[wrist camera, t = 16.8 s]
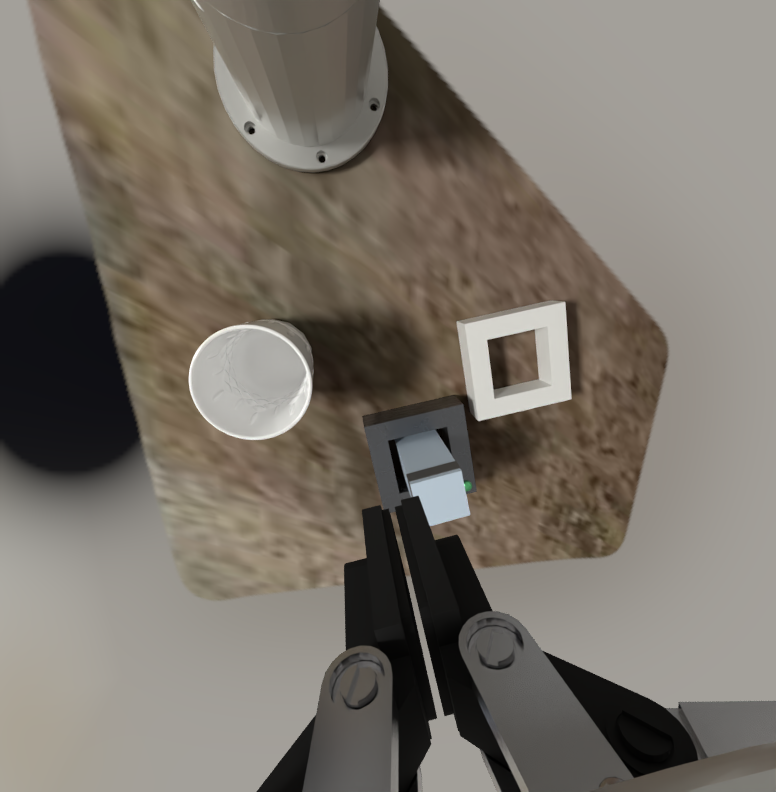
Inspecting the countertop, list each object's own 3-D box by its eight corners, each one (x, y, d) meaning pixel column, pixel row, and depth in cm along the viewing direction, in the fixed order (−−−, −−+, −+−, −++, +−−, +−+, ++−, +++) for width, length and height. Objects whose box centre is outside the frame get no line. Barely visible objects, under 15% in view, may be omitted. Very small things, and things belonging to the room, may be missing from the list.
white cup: (248, 296, 34) (213, 303, 24) (333, 336, 36) (331, 356, 26) (216, 377, 36) (171, 413, 26) (299, 411, 37) (285, 456, 28)
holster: (456, 321, 37) (464, 324, 34) (550, 300, 37) (565, 301, 35) (470, 412, 39) (478, 421, 37) (557, 392, 40) (571, 399, 37)
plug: (392, 434, 39) (409, 484, 30) (432, 423, 39) (461, 469, 30) (401, 470, 40) (420, 529, 31) (440, 460, 40) (471, 515, 31)
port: (362, 416, 38) (364, 428, 35) (454, 394, 39) (463, 404, 36) (381, 497, 41) (385, 515, 38) (467, 476, 41) (477, 492, 38)
